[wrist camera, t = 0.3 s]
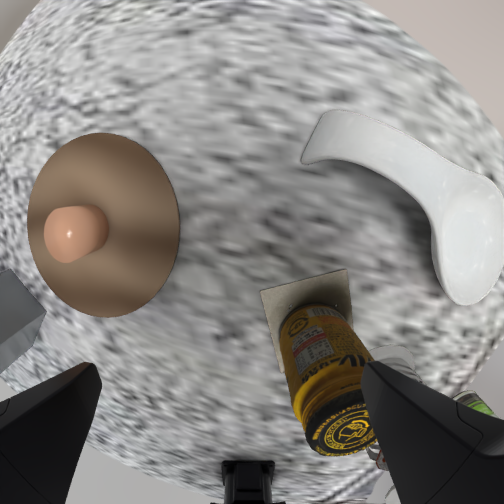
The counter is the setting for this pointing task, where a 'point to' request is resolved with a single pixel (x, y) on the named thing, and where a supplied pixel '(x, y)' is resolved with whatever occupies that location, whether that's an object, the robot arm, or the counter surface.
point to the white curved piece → (427, 197)
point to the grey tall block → (17, 319)
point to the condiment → (321, 361)
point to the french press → (405, 364)
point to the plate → (119, 220)
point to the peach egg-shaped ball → (75, 232)
